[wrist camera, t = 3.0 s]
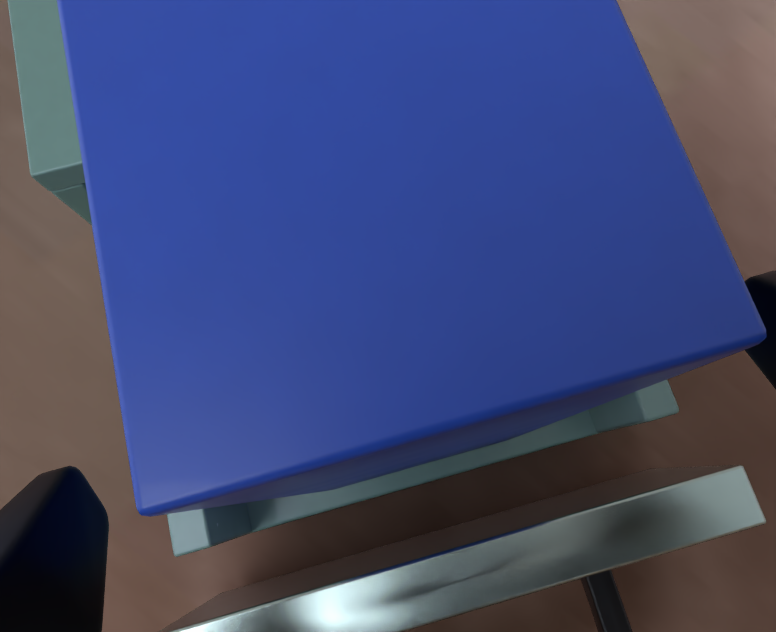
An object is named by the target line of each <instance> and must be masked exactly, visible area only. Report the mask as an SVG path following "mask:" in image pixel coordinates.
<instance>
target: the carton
mask: <svg viewBox="0 0 776 632" xmlns="http://www.w3.org/2000/svg"><path fill="white" fill-rule="evenodd" d="M57 5H58V11H59V18H60V24H61V30H62V37H63V43H64V50H65V56H66V62H67V69H68V75H69V81H70V88H71V94H72V101H73V107H74V113H75V120H76V126H77V132H78V139H79V145H80V151H81V158H82V164H83V171H84V177H85V183H86V190H87V196H88V202H89V209H90V215H91V221H92V228H93V234H94V241H95V247H96V253H97V260H98V266H99V272H100V279H101V285H102V292H103V298H104V304H105V311H106V317H107V323H108V330H109V336H110V342H111V349H112V355H113V362H114V368H115V374H116V381H117V387H118V393H119V400H120V406H121V413H122V419H123V425H124V432H125V438H126V444H127V451H128V457H129V463H130V470H131V476H132V483H133V489H134V495H135V502H136V508H137V509H138V511H139V513H140V514H141V515H143V516H150V517H151V516H158V515H165V514H171V513H178V512H185V511H192V510H199V509H206V508H212V507H219V506H226V505H233V504H240V503H247V502H254V501H260V500H267V499H274V498H281V497H288V496H295V495H301V494H308V493H315V492H322V491H329V490H334V489H338V488H341V487H345V486H348V485H352V484H355V483H359V482H362V481H366V480H370V479H373V478H377V477H380V476H384V475H387V474H391V473H394V472H398V471H401V470H405V469H408V468H412V467H415V466H419V465H422V464H426V463H429V462H433V461H436V460H440V459H443V458H447V457H450V456H454V455H457V454H461V453H464V452H468V451H471V450H475V449H478V448H482V447H485V446H489V445H492V444H496V443H499V442H503V441H506V440H510V439H512V438H515V437H518V436H520V435H523V434H525V433H528V432H531V431H533V430H536V429H538V428H541V427H544V426H546V425H549V424H552V423H554V422H557V421H559V420H562V419H565V418H567V417H570V416H573V415H575V414H578V413H580V412H583V411H586V410H588V409H591V408H593V407H596V406H599V405H601V404H604V403H607V402H609V401H612V400H614V399H617V398H620V397H622V396H625V395H628V394H630V393H633V392H635V391H638V390H641V389H643V388H646V387H649V386H651V385H654V384H656V383H659V382H662V381H664V380H667V379H669V378H672V377H675V376H677V375H680V374H683V373H685V372H688V371H690V370H693V369H696V368H698V367H701V366H704V365H706V364H709V363H711V362H714V361H717V360H719V359H722V358H725V357H727V356H730V355H732V354H735V353H738V352H740V351H743V350H745V349H748V348H751V347H753V346H756V345H759V344H760V343H761V342H762V341H763V340H764V339H765V338H766V337H767V334H766V328H765V326H764V324H763V321H762V319H761V317H760V315H759V313H758V310H757V308H756V306H755V304H754V302H753V300H752V297H751V295H750V293H749V291H748V289H747V286H746V284H745V282H744V280H743V278H742V275H741V273H740V271H739V269H738V267H737V264H736V262H735V260H734V258H733V256H732V253H731V251H730V249H729V247H728V245H727V242H726V240H725V238H724V236H723V234H722V231H721V229H720V227H719V225H718V223H717V220H716V218H715V216H714V214H713V212H712V209H711V207H710V205H709V203H708V201H707V198H706V196H705V194H704V192H703V190H702V187H701V185H700V183H699V181H698V179H697V177H696V174H695V172H694V170H693V168H692V166H691V163H690V161H689V159H688V157H687V155H686V152H685V150H684V148H683V146H682V144H681V141H680V139H679V137H678V135H677V133H676V130H675V128H674V126H673V124H672V122H671V119H670V117H669V115H668V113H667V111H666V108H665V106H664V104H663V102H662V100H661V97H660V95H659V93H658V91H657V89H656V86H655V84H654V82H653V80H652V78H651V75H650V73H649V71H648V69H647V67H646V64H645V62H644V60H643V58H642V56H641V54H640V51H639V49H638V47H637V45H636V43H635V40H634V38H633V36H632V34H631V32H630V29H629V27H628V25H627V23H626V21H625V18H624V16H623V14H622V12H621V10H620V7H619V5H618V3H617V1H616V0H57Z"/></svg>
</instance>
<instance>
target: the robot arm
mask: <svg viewBox="0 0 776 632" xmlns="http://www.w3.org/2000/svg"><path fill="white" fill-rule="evenodd" d="M745 284H746V286H747V289H748V291H749V293H750V295H751V297H752V300H753V302H754V304H755V306H756V308H757V310H758V313H759V315H760V317H761V319H762V321H763V324H764V326H765V328H766V334H767V337H766V338H765V339H764V340H763V341H762V342H761V343H760V344H759V345H756V346H753V347H751V348H748V349H745V351H746V352H747V353H748V355H749V356H750V357H751V358H752V360H753V361H754V362H755V364H756V365H757V366H758V367H759V369H760V370H761V371H762V372H763V374H764V375H765V376H766V378H767V379H768V380H769V381H770V383H771V384H772V385H773V387H774V388H775V389H776V271H771V272H767V273H764V274H760V275H757V276H753V277H750V278H748V279H747V280H746V281H745ZM108 532H109V522H108V516H107V513H106V510H105V508H104V506H103V504H102V503H101V501H100V500H99V498H98V497H97V495H96V494H95V492H94V491H93V489H92V488H91V486H90V484H89V483H88V481H87V480H86V478H85V477H84V475H83V474H82V473H81V471H80V470H79V469H77V468H76V467H72V466H67V467H63V468H60V469H56V470H52V471H49V472H45V473H42V474H40V475H38V476H37V477H36V478H35V479H34V480H32V481H31V482H30V483H29V484H28V485H27V486H26V487H25V488H24V489H23V490H22V491H20V492H19V493H18V494H17V495H16V496H15V497H14V498H13V499H12V500H11V501H10V502H8V503H7V504H6V505H5V506H4V507H3V508H2V509H1V510H0V632H102V622H103V607H104V592H105V577H106V562H107V547H108Z"/></svg>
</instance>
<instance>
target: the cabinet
mask: <svg viewBox="0 0 776 632" xmlns="http://www.w3.org/2000/svg"><path fill="white" fill-rule="evenodd" d="M8 7H9V14H10V22H11V30H12V37H13V45H14V53H15V60H16V68H17V75H18V83H19V91H20V98H21V106H22V114H23V121H24V129H25V137H26V144H27V152H28V160H29V167H30V174H31V176H32V177H33V178H34V179H35V180H36V181H38V182H39V183H40V184H41V185H42V186H44V187H45V188H46V189H47V190H49V191H51V192H52V193H53V194H54V195H55V196H57V197H58V198H59V199H60V200H61V201H63V202H64V203H65V204H66V205H68V206H69V207H70V208H71V209H73V210H74V211H75V212H76V213H77V214H79V215H80V216H81V217H82V218H84V219H85V220H86V221H87V222H89V223H90V224H91V225H92V221H91V215H90V209H89V202H88V196H87V190H86V183H85V177H84V171H83V164H82V158H81V151H80V145H79V139H78V132H77V126H76V120H75V113H74V107H73V101H72V94H71V88H70V81H69V75H68V69H67V62H66V56H65V50H64V43H63V37H62V30H61V24H60V18H59V11H58V5H57V0H8Z"/></svg>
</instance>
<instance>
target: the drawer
mask: <svg viewBox="0 0 776 632" xmlns="http://www.w3.org/2000/svg"><path fill="white" fill-rule="evenodd" d="M678 412H679V407H678V405H677V402H676V400H675V397H674V395H673V392H672V390H671V387H670V385H669V382H668V380H664V381H662V382H659V383H656V384H654V385H651V386H649V387H646V388H643V389H641V390H638V391H635V392H633V393H630V394H628V395H625V396H622V397H620V398H617V399H614V400H612V401H609V402H607V403H604V404H601V405H599V406H596V407H593V408H591V409H588V410H586V411H583V412H580V413H578V414H575V415H573V416H570V417H567V418H565V419H562V420H559V421H557V422H554V423H552V424H549V425H546V426H544V427H541V428H538V429H536V430H533V431H531V432H528V433H525V434H523V435H520V436H518V437H515V438H512V439H510V440H506V441H503V442H499V443H496V444H492V445H489V446H485V447H482V448H478V449H475V450H471V451H468V452H464V453H461V454H457V455H454V456H450V457H447V458H443V459H440V460H436V461H433V462H429V463H426V464H422V465H419V466H415V467H412V468H408V469H405V470H401V471H398V472H394V473H391V474H387V475H384V476H380V477H377V478H373V479H370V480H366V481H362V482H359V483H355V484H352V485H348V486H345V487H341V488H338V489H334V490H329V491H322V492H315V493H308V494H301V495H295V496H288V497H281V498H274V499H267V500H260V501H254V502H247V503H240V504H233V505H226V506H219V507H212V508H206V509H199V510H192V511H185V512H178V513H171V514H167V517H168V523H169V529H170V535H171V541H172V547H173V553H174V556H176V557H178V556H181V555H185V554H188V553H192V552H195V551H199V550H202V549H206V548H209V547H212V546H215V545H218V544H221V543H224V542H227V541H229V540H232V539H235V538H238V537H241V536H244V535H247V534H250V533H253V532H256V531H260V530H263V529H267V528H270V527H274V526H277V525H281V524H284V523H288V522H291V521H295V520H298V519H302V518H305V517H309V516H312V515H316V514H319V513H323V512H326V511H329V510H333V509H336V508H340V507H343V506H347V505H350V504H354V503H357V502H361V501H364V500H368V499H371V498H375V497H378V496H382V495H385V494H389V493H392V492H396V491H399V490H403V489H406V488H410V487H413V486H417V485H420V484H424V483H427V482H431V481H434V480H438V479H441V478H445V477H448V476H452V475H455V474H459V473H462V472H466V471H469V470H473V469H476V468H480V467H483V466H487V465H490V464H494V463H497V462H501V461H504V460H508V459H511V458H515V457H518V456H522V455H525V454H529V453H532V452H536V451H539V450H543V449H546V448H550V447H553V446H557V445H560V444H564V443H567V442H571V441H574V440H578V439H581V438H585V437H588V436H592V435H595V434H599V433H603V432H607V431H611V430H615V429H620V428H624V427H628V426H632V425H637V424H641V423H645V422H649V421H653V420H656V419H660V418H663V417H667V416H670V415H674V414H677V413H678ZM765 523H766V519H765V517H764V514H763V512H762V509H761V507H760V505H759V502H758V500H757V497H756V495H755V493H754V490H753V488H752V486H751V483H750V481H749V478H748V476H747V474H746V471H745V469H744V467H743V466H742V465H722V466H699V467H676V468H653V469H647V470H644V471H640V472H637V473H633V474H630V475H627V476H623V477H620V478H616V479H613V480H609V481H606V482H602V483H599V484H595V485H592V486H589V487H585V488H582V489H578V490H575V491H571V492H568V493H564V494H561V495H558V496H554V497H551V498H547V499H544V500H540V501H537V502H533V503H530V504H527V505H523V506H520V507H516V508H513V509H509V510H506V511H502V512H499V513H495V514H492V515H489V516H485V517H482V518H478V519H475V520H471V521H468V522H464V523H461V524H458V525H454V526H451V527H447V528H444V529H440V530H437V531H433V532H430V533H427V534H423V535H420V536H416V537H413V538H409V539H406V540H402V541H399V542H395V543H392V544H389V545H385V546H382V547H378V548H375V549H371V550H368V551H364V552H361V553H358V554H354V555H351V556H347V557H344V558H340V559H337V560H333V561H330V562H327V563H323V564H320V565H316V566H313V567H309V568H306V569H302V570H299V571H295V572H292V573H289V574H285V575H282V576H278V577H275V578H271V579H268V580H264V581H261V582H258V583H254V584H251V585H247V586H244V587H240V588H237V589H233V590H230V591H227V592H223V593H220V594H219V595H217V596H215V597H214V598H212V599H210V600H209V601H207V602H206V603H204V604H202V605H201V606H199V607H197V608H196V609H194V610H193V611H191V612H189V613H188V614H186V615H185V616H183V617H181V618H180V619H178V620H176V621H175V622H173V623H172V624H170V625H168V626H167V627H165V628H163V629H162V630H160V631H159V632H403V631H407V630H410V629H413V628H417V627H420V626H424V625H427V624H430V623H434V622H437V621H440V620H444V619H447V618H450V617H454V616H457V615H461V614H464V613H467V612H471V611H474V610H477V609H481V608H484V607H488V606H491V605H494V604H498V603H501V602H504V601H508V600H511V599H515V598H518V597H521V596H525V595H528V594H531V593H535V592H538V591H541V590H545V589H548V588H552V587H555V586H558V585H562V584H565V583H568V582H572V581H575V580H579V579H581V581H582V584H583V587H584V590H585V593H586V596H587V599H588V602H589V605H590V608H591V611H592V614H593V617H594V620H595V623H596V626H597V629H598V632H632V629H631V626H630V623H629V620H628V617H627V614H626V611H625V609H624V606H623V603H622V600H621V597H620V594H619V591H618V588H617V586H616V583H615V580H614V577H613V574H612V571H611V570H612V569H616V568H619V567H622V566H626V565H629V564H632V563H636V562H639V561H643V560H646V559H649V558H653V557H656V556H659V555H663V554H666V553H670V552H673V551H676V550H680V549H683V548H686V547H690V546H693V545H696V544H700V543H703V542H707V541H710V540H713V539H717V538H720V537H723V536H727V535H730V534H734V533H737V532H740V531H744V530H747V529H750V528H754V527H757V526H760V525H764V524H765Z"/></svg>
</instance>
